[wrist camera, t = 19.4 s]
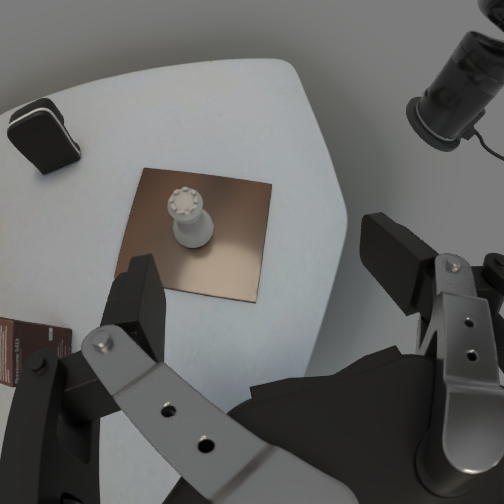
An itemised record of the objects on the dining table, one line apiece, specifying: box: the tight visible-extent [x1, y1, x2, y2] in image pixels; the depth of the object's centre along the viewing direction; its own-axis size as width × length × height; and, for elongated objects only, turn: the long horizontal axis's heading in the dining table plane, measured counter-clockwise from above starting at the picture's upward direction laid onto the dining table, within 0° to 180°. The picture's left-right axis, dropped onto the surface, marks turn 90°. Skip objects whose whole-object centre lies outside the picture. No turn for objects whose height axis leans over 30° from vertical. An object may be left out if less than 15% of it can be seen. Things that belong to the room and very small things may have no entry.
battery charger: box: [7, 98, 80, 174], centre depth 30 cm, size 7×4×11 cm, turn 107°
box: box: [0, 317, 72, 387], centre depth 24 cm, size 6×4×12 cm
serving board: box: [114, 168, 272, 303], centre depth 34 cm, size 16×14×1 cm
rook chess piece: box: [167, 187, 214, 248], centre depth 30 cm, size 4×4×8 cm
